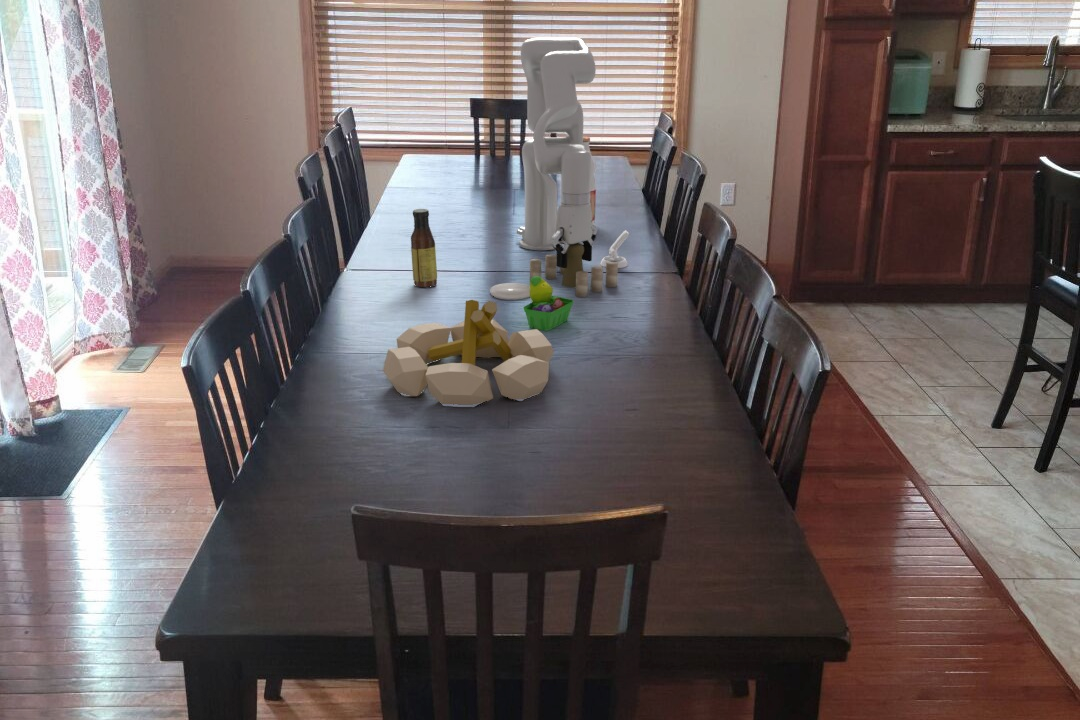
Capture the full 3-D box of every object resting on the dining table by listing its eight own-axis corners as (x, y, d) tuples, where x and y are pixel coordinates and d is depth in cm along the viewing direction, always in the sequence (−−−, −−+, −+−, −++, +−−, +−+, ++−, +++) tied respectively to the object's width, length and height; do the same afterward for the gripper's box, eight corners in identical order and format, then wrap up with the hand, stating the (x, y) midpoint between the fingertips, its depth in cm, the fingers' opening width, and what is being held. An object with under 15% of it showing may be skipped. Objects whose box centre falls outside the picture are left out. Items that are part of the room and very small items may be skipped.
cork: (587, 282, 278) (588, 241, 274) (580, 288, 272) (581, 247, 268) (565, 279, 279) (566, 239, 275) (558, 285, 274) (559, 245, 270)
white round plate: (481, 293, 268) (481, 288, 267) (511, 284, 275) (511, 279, 275) (512, 302, 261) (512, 298, 260) (542, 293, 268) (542, 288, 268)
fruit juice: (559, 225, 333) (560, 137, 323) (579, 221, 339) (581, 133, 329) (580, 231, 327) (582, 141, 317) (600, 226, 333) (603, 137, 323)
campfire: (550, 415, 199) (551, 331, 193) (372, 410, 200) (368, 326, 194) (555, 349, 231) (556, 275, 225) (403, 346, 233) (400, 272, 226)
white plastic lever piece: (646, 250, 288) (627, 238, 285) (619, 282, 292) (600, 270, 290) (642, 238, 294) (623, 225, 291) (615, 269, 299) (596, 257, 296)
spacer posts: (527, 282, 277) (527, 260, 274) (565, 270, 287) (565, 249, 285) (582, 298, 265) (582, 275, 262) (619, 285, 275) (620, 263, 273)
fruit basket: (549, 334, 240) (550, 287, 236) (517, 327, 244) (517, 280, 240) (574, 320, 249) (575, 274, 245) (543, 313, 253) (543, 268, 249)
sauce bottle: (441, 283, 275) (439, 209, 268) (429, 290, 270) (427, 214, 262) (420, 280, 277) (417, 206, 270) (407, 286, 272) (404, 211, 265)
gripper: (586, 191, 276) (584, 255, 282) (541, 201, 264) (541, 267, 270) (608, 195, 271) (606, 260, 277) (563, 205, 259) (562, 272, 265)
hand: (574, 263), depth 273 cm, fingers open, 9 cm apart
